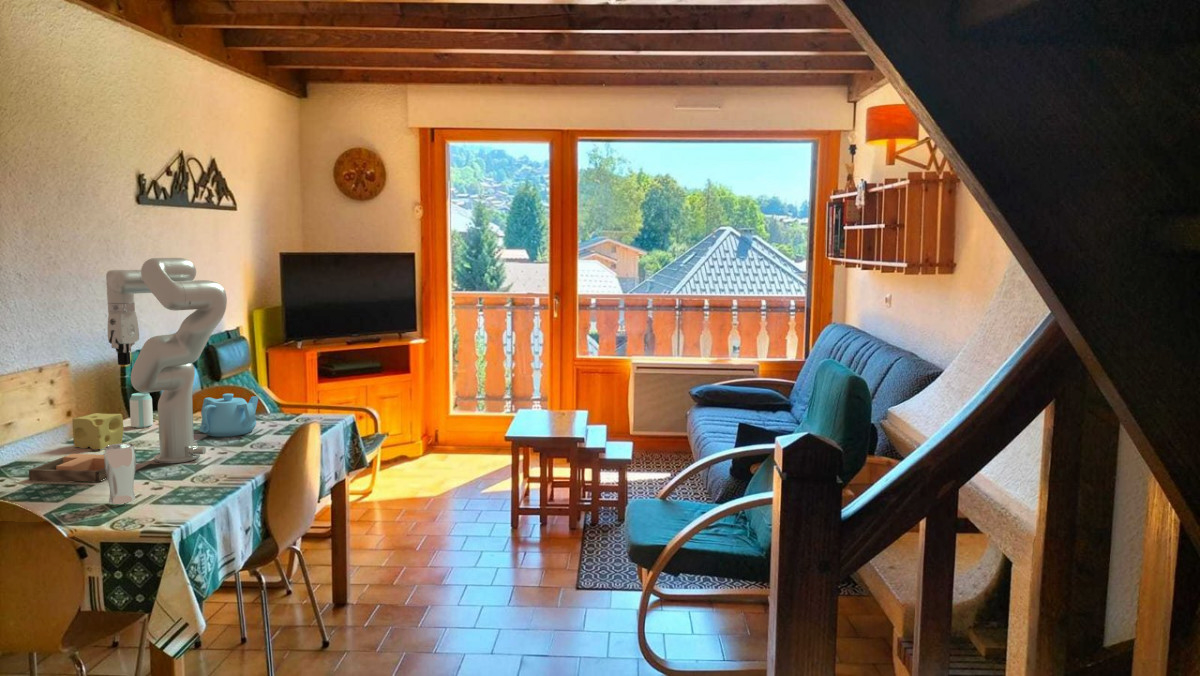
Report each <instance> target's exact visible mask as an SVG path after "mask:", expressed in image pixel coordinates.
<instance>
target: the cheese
mask: <svg viewBox="0 0 1200 676" xmlns="http://www.w3.org/2000/svg"><path fill="white" fill-rule="evenodd" d="M72 436H73V437H72V439H73V445H74V448H75V447H81V448H80V449H89V448H88V447H91V448H93V449H92V450H95V449H101V450H103V449H102V448H104V449H105V447H106V446H108V445H112V444H119V443H123V438H124V437H123V436H124V419H123V414H121V413H99V412H95V413H91V414H86V415H84V416H79V417H74V418H72ZM91 448H90V449H91Z"/></svg>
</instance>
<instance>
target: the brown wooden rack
mask: <svg viewBox="0 0 1200 676" xmlns="http://www.w3.org/2000/svg"><path fill="white" fill-rule="evenodd" d="M65 456H66V455H65ZM65 456H63V457H65ZM63 457H60V458H57V459H55V460H54V459H53V460H52V461H49V462H46V463H44V464H41V465H39V466H36V467H34V468H31V469H28V478H29V479H28V480H36V481H35V482H68V481H101V480H103V479H105V478H107V476H106V472H105V468H103V469H100V470H98V471H87V470H56V466H58V465H60V464H63ZM105 480H106V479H105ZM103 481H104V480H103ZM101 482H102V481H101Z"/></svg>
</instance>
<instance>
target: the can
mask: <svg viewBox="0 0 1200 676" xmlns="http://www.w3.org/2000/svg"><path fill="white" fill-rule="evenodd" d="M150 393H151V392H148V393H143V392H136V393H135V392H134V393H132V394H131V396H130V398H129V414H130V427H132V428H134V427H136V428H135V429H143V428H142V427H146V428H149V427H148V426H150V427H151V426H153V425H154V416H153V415H154V413H153V398H152V396H151V395H150Z"/></svg>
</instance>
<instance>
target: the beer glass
mask: <svg viewBox="0 0 1200 676" xmlns="http://www.w3.org/2000/svg"><path fill="white" fill-rule="evenodd" d="M103 455H104V464H105V472H106V476H107V479H106V480H107V483H108V487H109V498H108V499H109V500H108V504H109V503H110V504H114V505H115V504H124V503H127V502H131V501H133V500H135V499H136V496H135V491H134V482H135V476H136V467H137V461H136V460H137V459H136V452H135V444H134V443H130V442H122V443H119V444H112V445H108V446H106V447H105V448H104V454H103Z"/></svg>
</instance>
